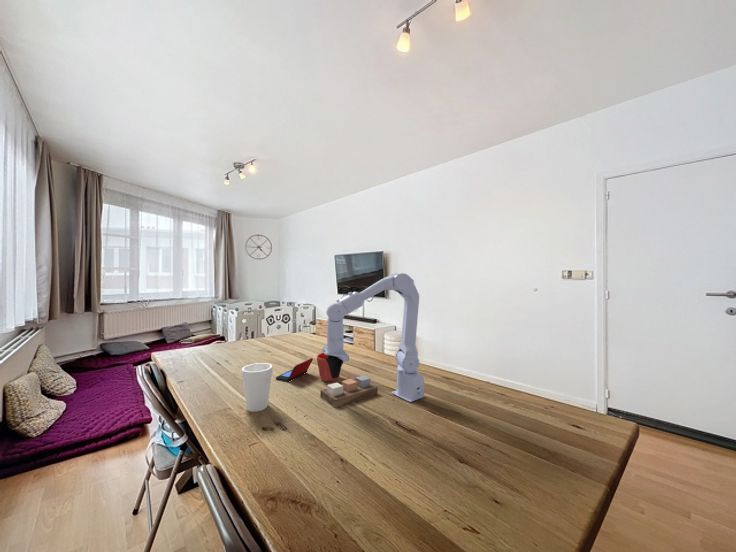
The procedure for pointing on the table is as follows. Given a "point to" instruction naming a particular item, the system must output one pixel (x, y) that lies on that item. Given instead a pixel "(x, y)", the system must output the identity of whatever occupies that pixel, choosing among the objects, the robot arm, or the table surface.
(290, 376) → the handheld game console
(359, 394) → the key frame
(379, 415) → the table surface
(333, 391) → the ivory key
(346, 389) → the terracotta key
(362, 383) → the slate key
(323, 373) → the flower pot
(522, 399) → the table surface
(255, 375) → the foam cup
